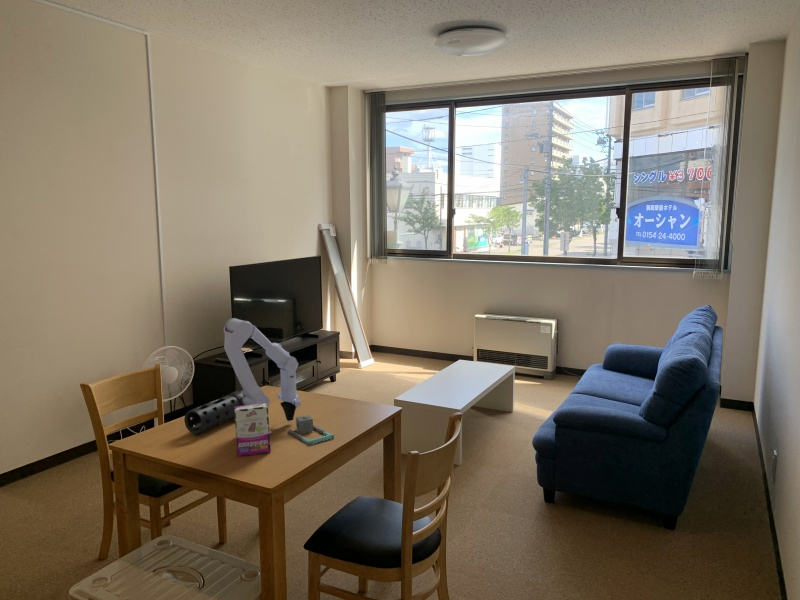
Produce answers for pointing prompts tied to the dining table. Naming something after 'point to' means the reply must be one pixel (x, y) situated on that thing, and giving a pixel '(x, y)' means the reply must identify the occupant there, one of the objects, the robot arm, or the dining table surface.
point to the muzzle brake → (213, 413)
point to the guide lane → (316, 440)
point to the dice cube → (304, 424)
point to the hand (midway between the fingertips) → (289, 420)
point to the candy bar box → (252, 429)
